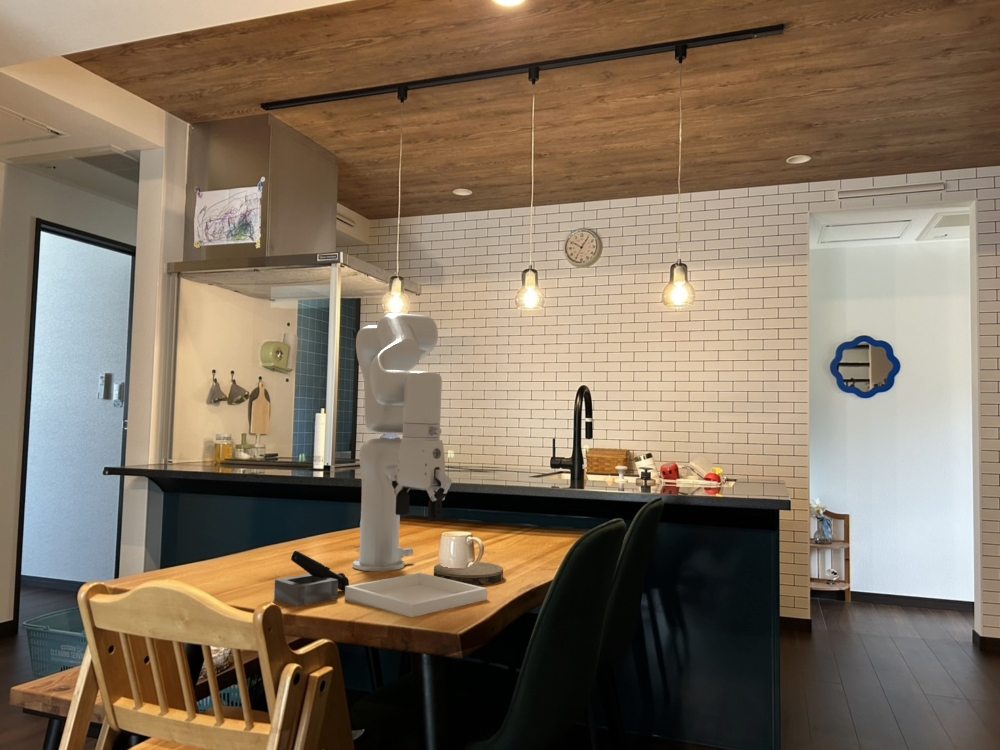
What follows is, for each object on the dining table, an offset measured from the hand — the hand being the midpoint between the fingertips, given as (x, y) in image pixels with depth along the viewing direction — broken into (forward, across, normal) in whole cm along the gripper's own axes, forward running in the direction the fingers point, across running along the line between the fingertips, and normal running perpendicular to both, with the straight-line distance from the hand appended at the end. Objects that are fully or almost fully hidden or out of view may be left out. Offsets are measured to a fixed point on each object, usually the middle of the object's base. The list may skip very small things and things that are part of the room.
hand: (418, 517), depth 154 cm
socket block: (+17, +15, +15) cm, 27 cm away
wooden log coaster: (+18, +7, -23) cm, 30 cm away
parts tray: (+17, -1, 0) cm, 17 cm away
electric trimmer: (+9, +16, +19) cm, 27 cm away
